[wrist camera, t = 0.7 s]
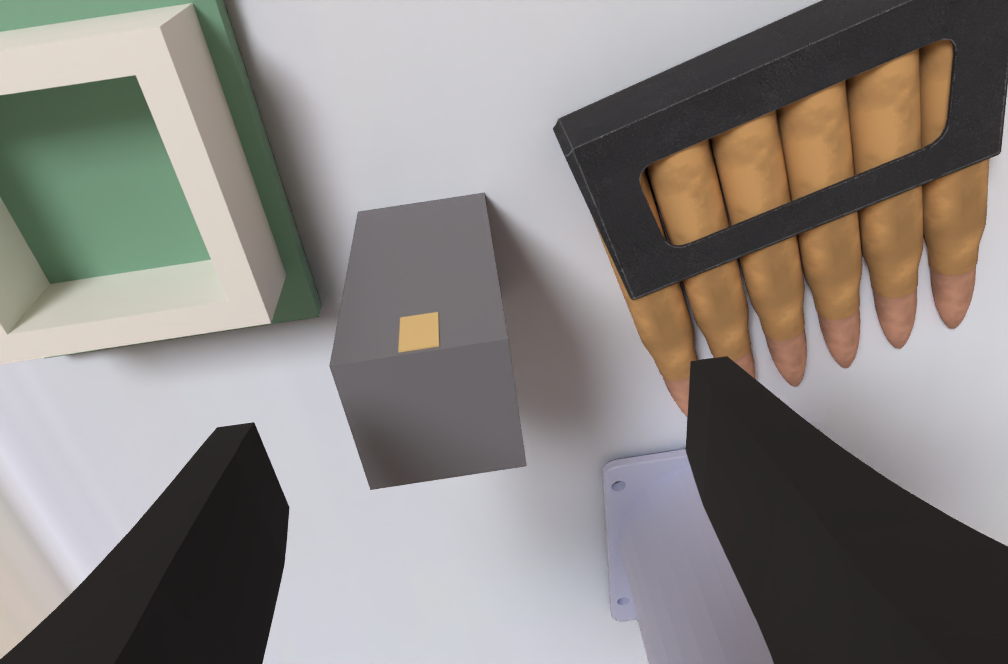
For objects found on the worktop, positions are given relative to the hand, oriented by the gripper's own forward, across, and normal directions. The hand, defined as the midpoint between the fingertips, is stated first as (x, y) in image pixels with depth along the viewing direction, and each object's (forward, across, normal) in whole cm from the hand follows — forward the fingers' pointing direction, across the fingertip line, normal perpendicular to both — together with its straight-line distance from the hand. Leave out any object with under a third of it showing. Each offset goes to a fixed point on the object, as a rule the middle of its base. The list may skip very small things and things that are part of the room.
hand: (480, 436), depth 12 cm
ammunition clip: (+8, -8, -4) cm, 12 cm away
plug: (+9, +1, +2) cm, 10 cm away
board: (+9, +9, -2) cm, 13 cm away
